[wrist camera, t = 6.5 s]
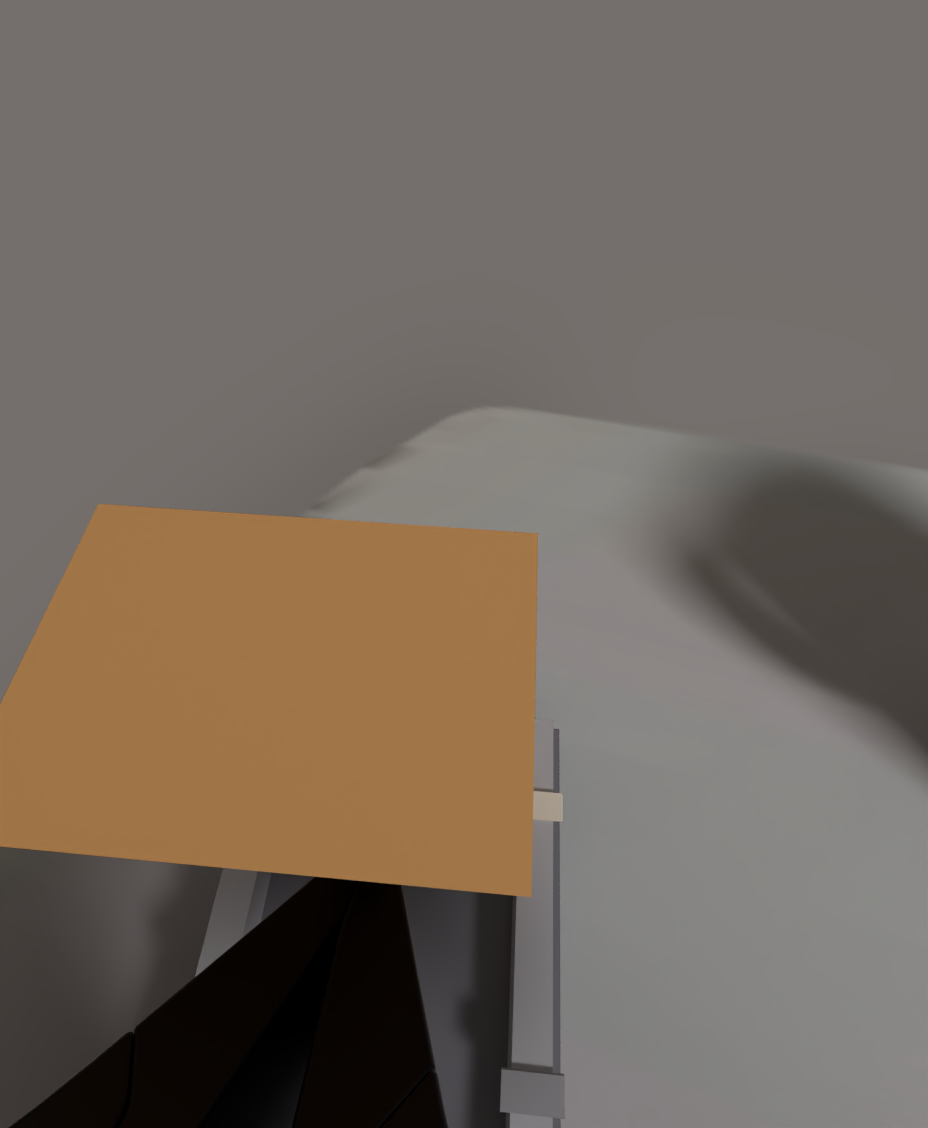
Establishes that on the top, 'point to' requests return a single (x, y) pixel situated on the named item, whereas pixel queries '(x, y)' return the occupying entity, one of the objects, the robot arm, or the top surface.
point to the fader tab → (282, 700)
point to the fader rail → (467, 970)
